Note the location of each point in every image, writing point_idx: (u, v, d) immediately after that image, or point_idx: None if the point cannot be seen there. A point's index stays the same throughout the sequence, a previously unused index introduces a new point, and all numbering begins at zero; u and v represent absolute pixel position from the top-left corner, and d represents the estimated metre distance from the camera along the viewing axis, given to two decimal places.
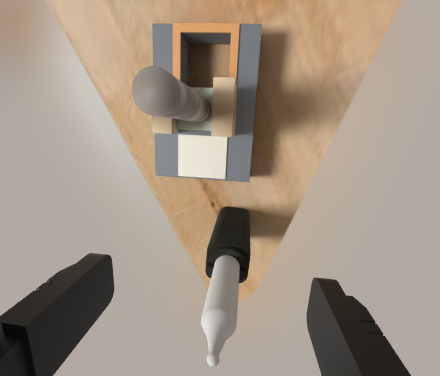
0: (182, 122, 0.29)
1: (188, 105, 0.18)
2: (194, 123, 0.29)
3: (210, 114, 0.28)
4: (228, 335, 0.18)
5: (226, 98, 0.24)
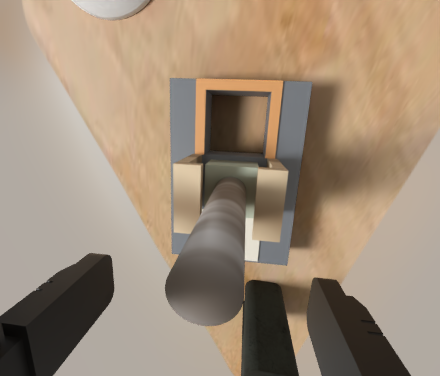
0: None
1: None
2: None
3: (246, 198, 0.22)
4: None
5: (275, 195, 0.18)
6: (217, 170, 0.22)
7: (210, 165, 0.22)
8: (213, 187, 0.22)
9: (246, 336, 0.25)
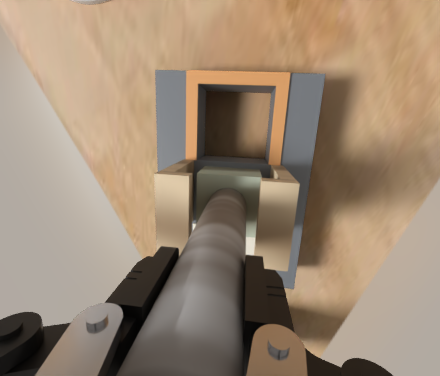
0: None
1: None
2: None
3: (246, 214, 0.18)
4: None
5: (282, 214, 0.14)
6: (211, 180, 0.18)
7: (203, 174, 0.18)
8: (206, 200, 0.18)
9: None
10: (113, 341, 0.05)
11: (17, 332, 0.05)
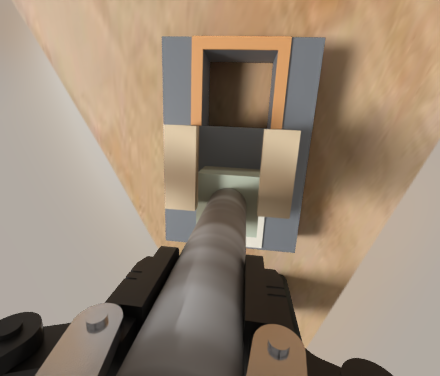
0: None
1: None
2: None
3: (246, 214, 0.18)
4: None
5: (284, 162, 0.15)
6: (211, 179, 0.18)
7: (203, 174, 0.18)
8: (207, 200, 0.18)
9: None
10: (113, 341, 0.05)
11: (17, 332, 0.05)
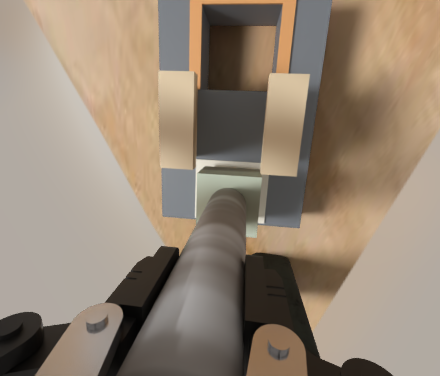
0: None
1: None
2: None
3: (246, 214, 0.18)
4: None
5: (291, 111, 0.14)
6: (211, 180, 0.18)
7: (203, 174, 0.18)
8: (206, 200, 0.18)
9: None
10: (113, 341, 0.05)
11: (17, 332, 0.05)
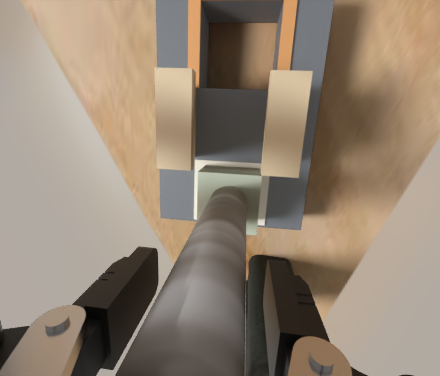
0: None
1: None
2: None
3: (246, 212, 0.19)
4: None
5: (293, 109, 0.13)
6: (211, 178, 0.18)
7: (204, 172, 0.18)
8: (207, 198, 0.19)
9: (251, 314, 0.20)
10: (70, 344, 0.05)
11: None
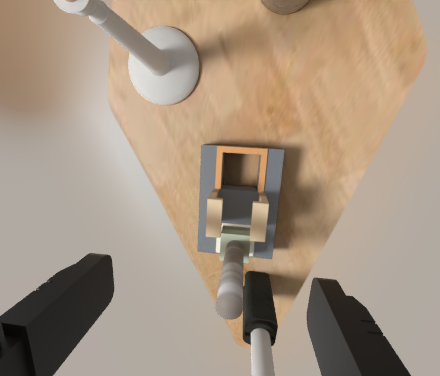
0: (222, 255, 0.40)
1: None
2: None
3: (243, 252, 0.39)
4: None
5: (262, 216, 0.34)
6: (227, 236, 0.39)
7: (223, 233, 0.39)
8: (225, 245, 0.39)
9: (246, 302, 0.40)
10: None
11: None
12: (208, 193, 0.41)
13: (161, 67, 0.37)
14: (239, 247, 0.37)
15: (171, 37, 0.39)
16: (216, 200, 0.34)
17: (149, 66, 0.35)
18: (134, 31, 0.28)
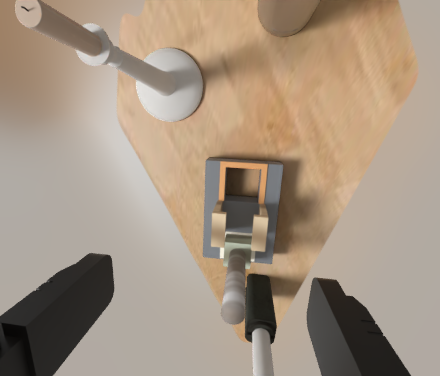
0: (226, 262, 0.43)
1: None
2: None
3: (245, 259, 0.42)
4: None
5: (262, 229, 0.37)
6: (230, 244, 0.42)
7: (227, 242, 0.42)
8: (228, 253, 0.43)
9: (248, 304, 0.44)
10: None
11: None
12: (212, 204, 0.45)
13: (168, 89, 0.39)
14: (241, 255, 0.40)
15: (176, 59, 0.41)
16: (220, 214, 0.37)
17: (157, 90, 0.38)
18: (144, 65, 0.30)
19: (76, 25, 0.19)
